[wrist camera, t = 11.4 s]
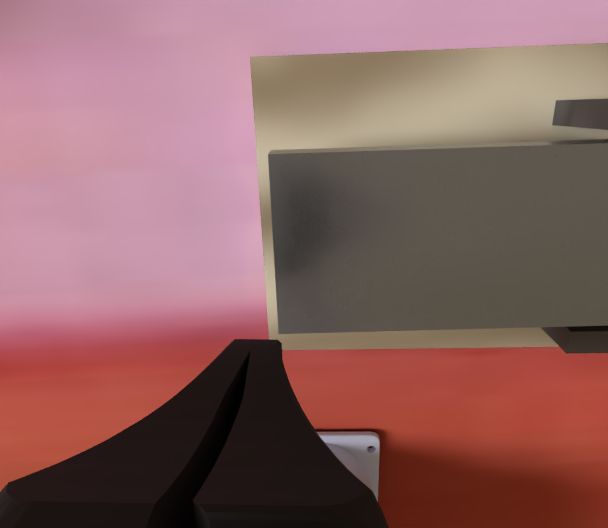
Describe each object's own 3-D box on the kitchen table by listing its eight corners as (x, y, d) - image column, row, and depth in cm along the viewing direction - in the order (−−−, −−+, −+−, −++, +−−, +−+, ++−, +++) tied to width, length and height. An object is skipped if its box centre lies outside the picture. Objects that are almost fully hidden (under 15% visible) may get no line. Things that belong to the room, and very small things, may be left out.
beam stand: (804, 333, 23) (931, 392, 18) (271, 340, 24) (260, 398, 19) (927, 33, 18) (1144, 8, 13) (253, 59, 19) (232, 44, 14)
